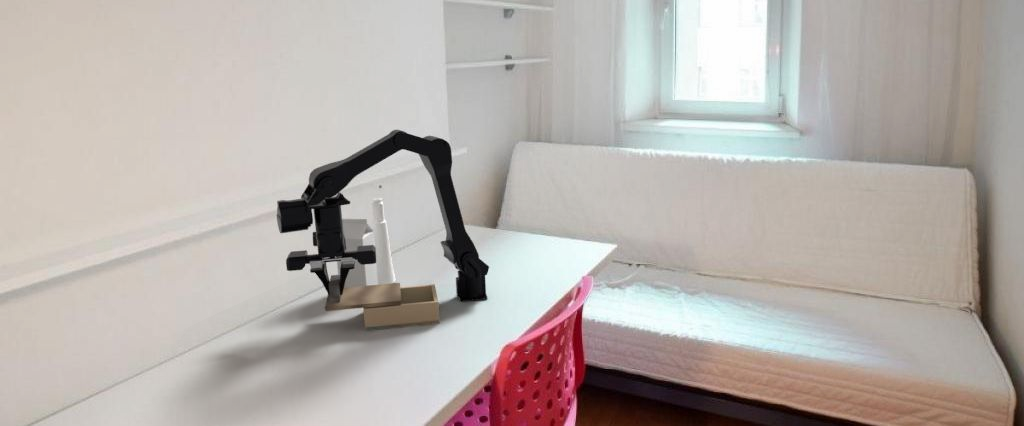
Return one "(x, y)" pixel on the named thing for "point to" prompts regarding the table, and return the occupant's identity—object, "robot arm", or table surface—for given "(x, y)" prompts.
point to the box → (405, 310)
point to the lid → (361, 295)
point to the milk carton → (356, 236)
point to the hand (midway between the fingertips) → (336, 294)
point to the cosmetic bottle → (382, 244)
